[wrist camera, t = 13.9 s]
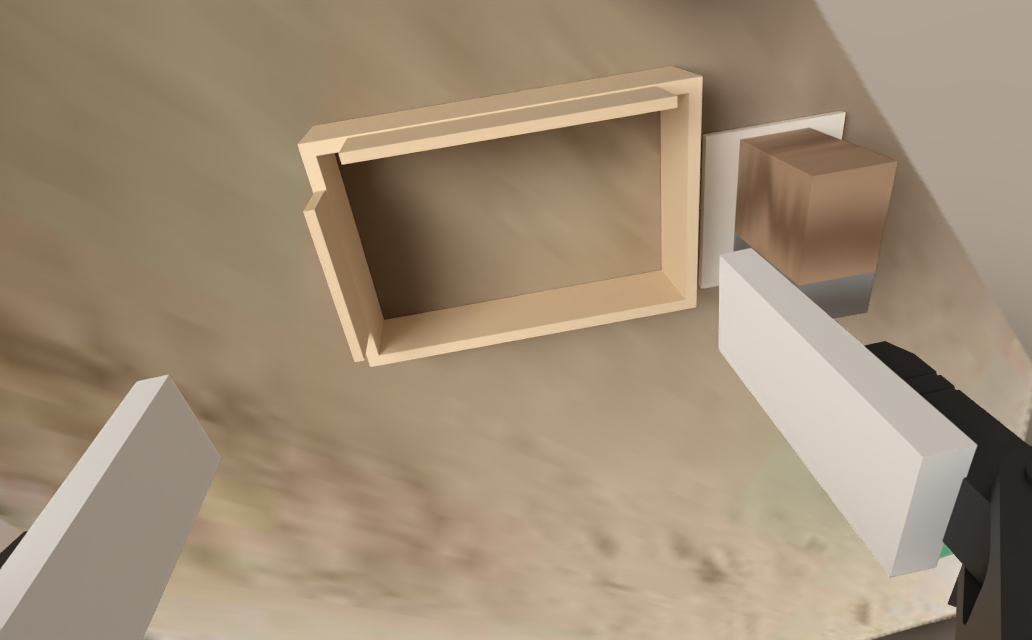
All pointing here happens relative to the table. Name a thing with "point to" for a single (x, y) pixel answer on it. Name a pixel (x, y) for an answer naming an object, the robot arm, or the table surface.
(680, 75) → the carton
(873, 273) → the walnut block
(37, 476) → the table surface
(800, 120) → the plate
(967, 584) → the robot arm
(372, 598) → the table surface
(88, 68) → the table surface
